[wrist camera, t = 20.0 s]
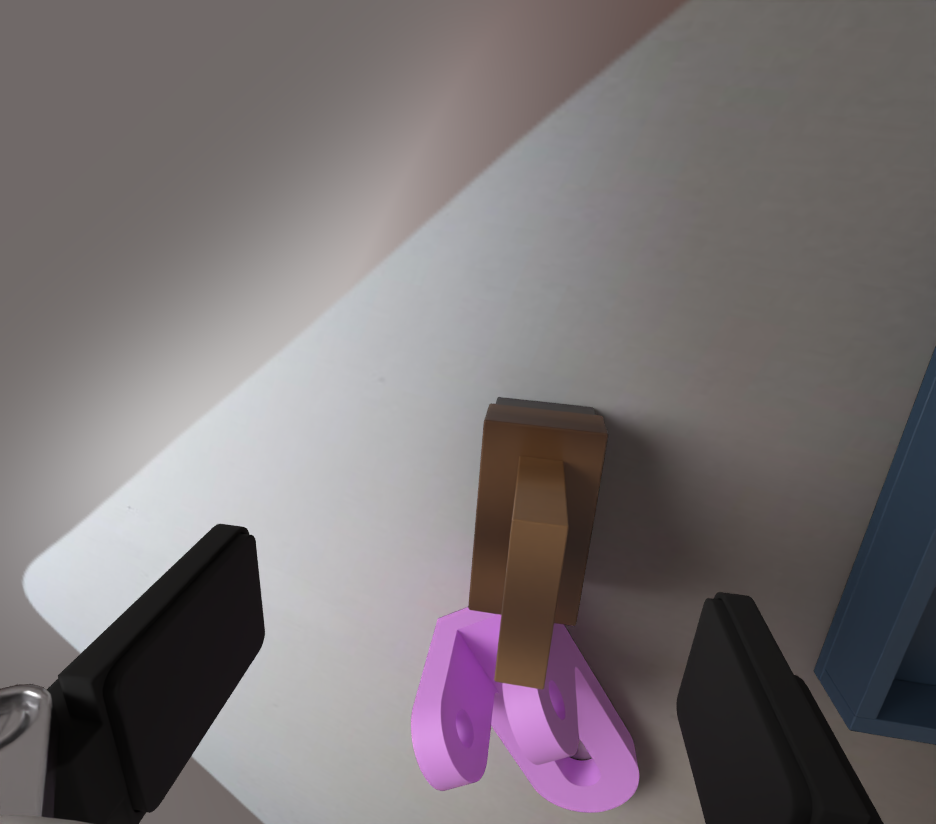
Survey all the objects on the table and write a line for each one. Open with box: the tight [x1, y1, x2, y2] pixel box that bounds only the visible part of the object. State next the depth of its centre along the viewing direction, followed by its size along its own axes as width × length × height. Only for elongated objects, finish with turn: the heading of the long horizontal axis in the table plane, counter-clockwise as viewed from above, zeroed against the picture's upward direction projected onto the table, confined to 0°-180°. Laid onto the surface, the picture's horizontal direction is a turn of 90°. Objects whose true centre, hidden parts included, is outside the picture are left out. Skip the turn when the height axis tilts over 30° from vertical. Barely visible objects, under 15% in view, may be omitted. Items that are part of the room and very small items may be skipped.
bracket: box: [411, 607, 639, 812], centre depth 24 cm, size 13×6×7 cm, turn 30°
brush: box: [468, 397, 608, 689], centre depth 19 cm, size 8×4×8 cm, turn 176°
